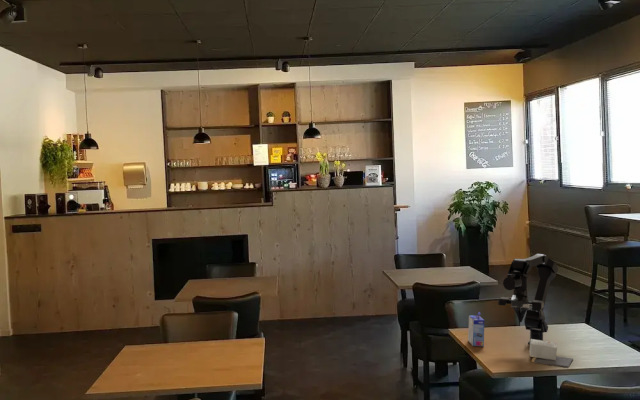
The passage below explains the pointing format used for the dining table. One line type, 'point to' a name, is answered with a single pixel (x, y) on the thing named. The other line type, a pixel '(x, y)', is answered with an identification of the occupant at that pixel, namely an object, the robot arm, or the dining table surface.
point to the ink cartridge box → (476, 330)
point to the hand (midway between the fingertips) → (520, 322)
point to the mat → (559, 361)
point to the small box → (543, 349)
